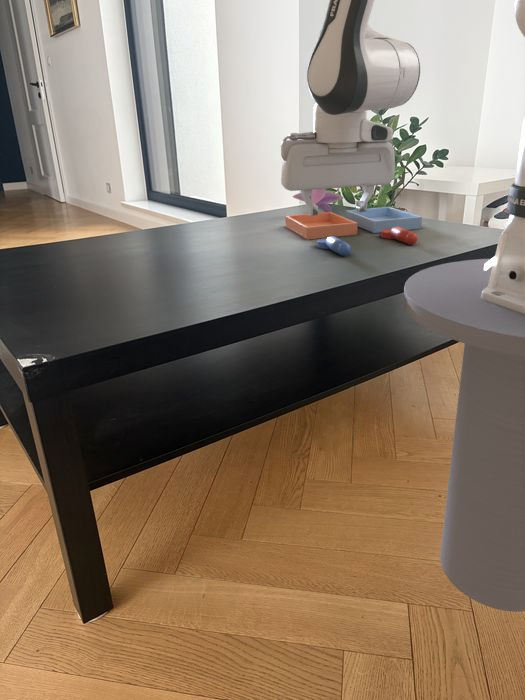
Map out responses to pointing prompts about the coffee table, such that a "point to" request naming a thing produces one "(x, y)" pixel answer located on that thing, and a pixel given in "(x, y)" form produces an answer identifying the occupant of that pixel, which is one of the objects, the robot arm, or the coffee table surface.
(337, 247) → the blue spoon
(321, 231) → the orange tray
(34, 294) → the coffee table surface
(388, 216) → the blue tray
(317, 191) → the lily
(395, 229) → the red spoon
